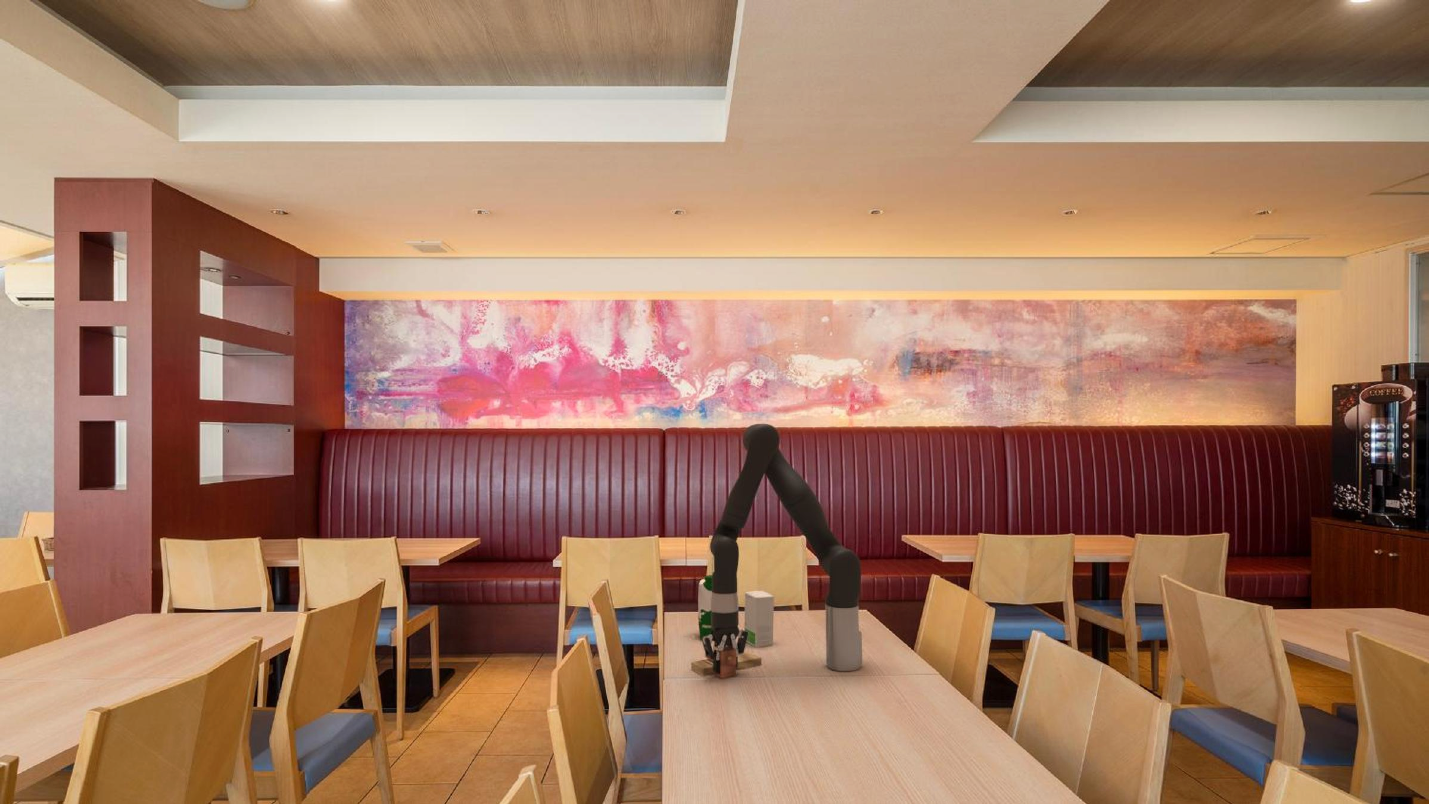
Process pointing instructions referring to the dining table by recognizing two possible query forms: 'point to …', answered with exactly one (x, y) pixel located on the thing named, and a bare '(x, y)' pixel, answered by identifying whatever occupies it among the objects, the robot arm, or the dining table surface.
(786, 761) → the dining table surface
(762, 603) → the skincare box
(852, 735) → the dining table surface
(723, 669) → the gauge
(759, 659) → the board
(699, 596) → the milk carton
